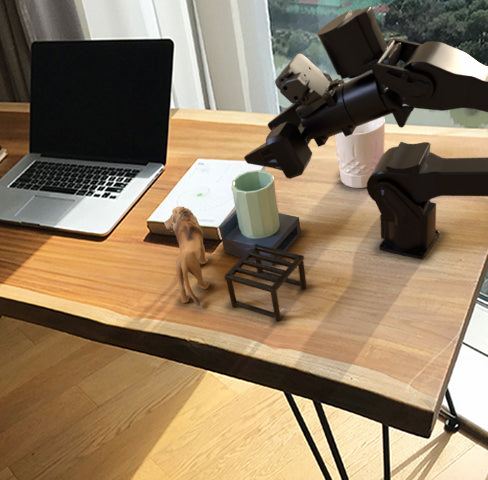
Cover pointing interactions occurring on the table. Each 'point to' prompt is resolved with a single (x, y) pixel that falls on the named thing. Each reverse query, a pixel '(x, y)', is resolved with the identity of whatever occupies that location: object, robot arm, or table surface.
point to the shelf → (280, 240)
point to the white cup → (360, 152)
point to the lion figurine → (188, 249)
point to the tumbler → (256, 204)
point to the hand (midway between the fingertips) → (257, 142)
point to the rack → (265, 276)
